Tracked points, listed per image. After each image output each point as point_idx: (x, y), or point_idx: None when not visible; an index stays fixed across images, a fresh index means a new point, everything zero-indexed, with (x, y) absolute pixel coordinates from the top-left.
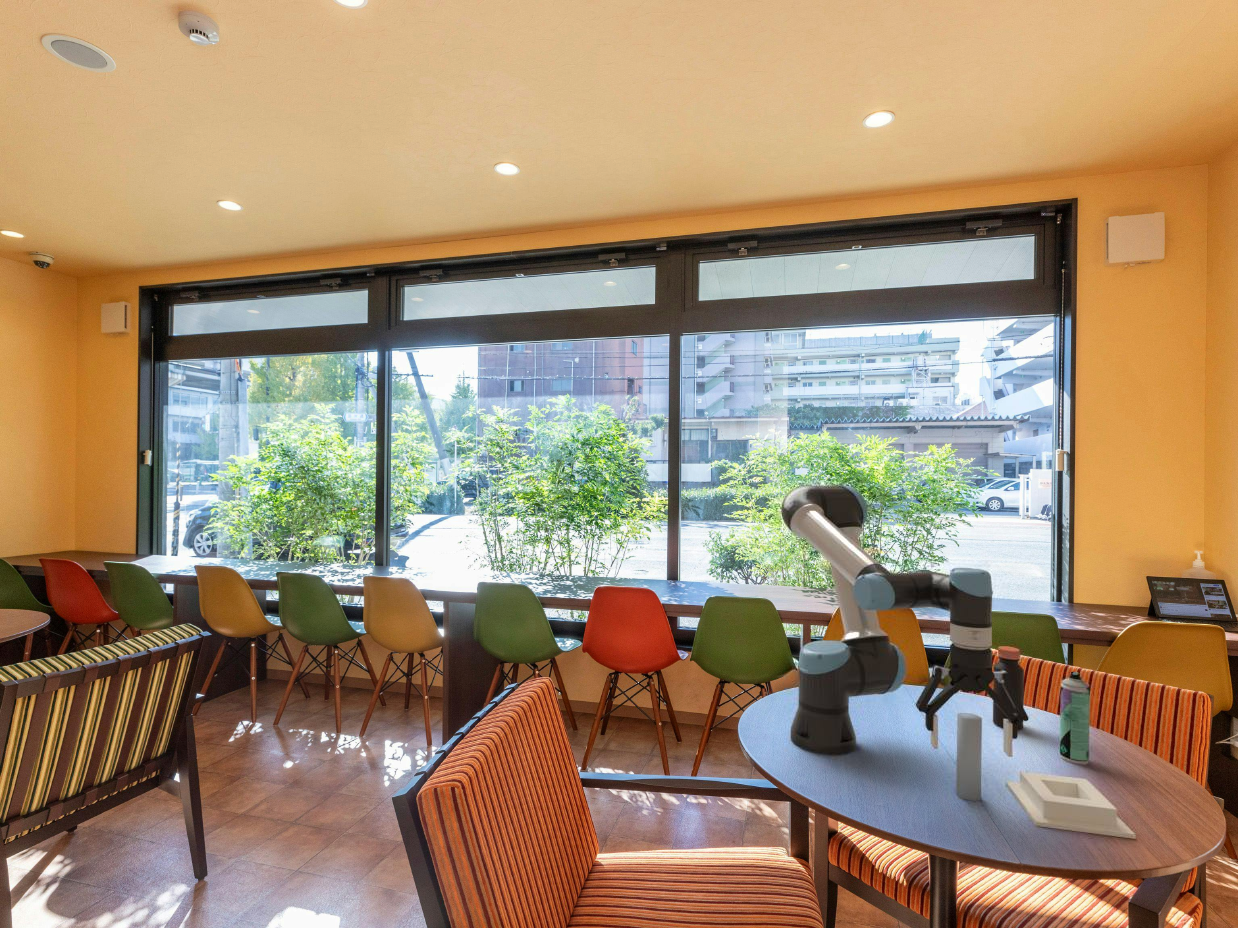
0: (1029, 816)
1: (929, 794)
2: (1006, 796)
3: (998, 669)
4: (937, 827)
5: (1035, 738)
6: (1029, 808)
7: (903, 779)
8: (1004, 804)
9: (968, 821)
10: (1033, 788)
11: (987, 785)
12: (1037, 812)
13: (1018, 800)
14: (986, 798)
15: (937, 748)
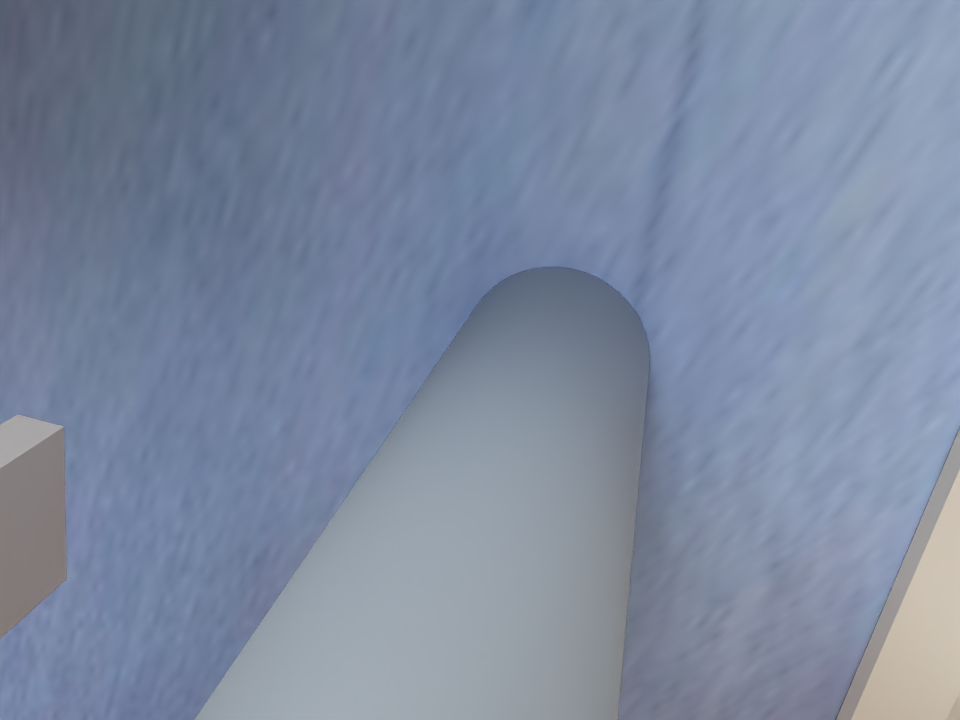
0: (863, 659)
1: (245, 349)
2: (905, 365)
3: None
4: (179, 712)
5: None
6: (924, 622)
7: (102, 102)
8: (786, 490)
9: None
10: None
11: (858, 160)
12: (947, 673)
13: (950, 467)
14: (687, 401)
15: (56, 583)
